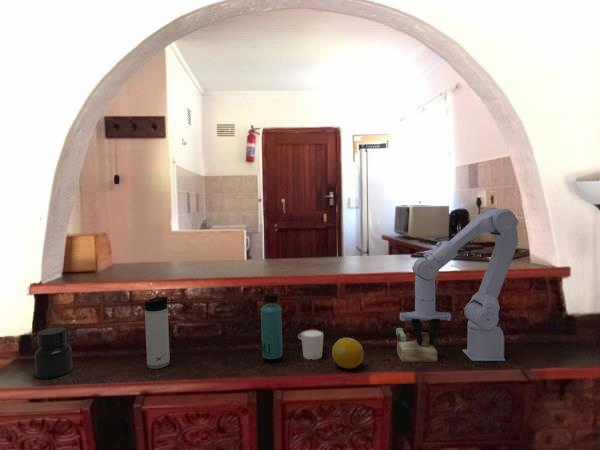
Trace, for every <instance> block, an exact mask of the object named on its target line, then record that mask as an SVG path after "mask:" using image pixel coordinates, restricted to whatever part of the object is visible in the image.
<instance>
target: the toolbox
mask: <svg viewBox="0 0 600 450" xmlns="http://www.w3.org/2000/svg"><path fill="white" fill-rule="evenodd" d="M405 335H406V341H405V342H411V339H410V338H411V337H410V333H409V332H407V333H406V334H405ZM396 338H397V339H396V353H397V355H398V357H399V358H400V360H401V363H437V362H438V350H436V351H407V352H403V350H402V349H401V347H400V345H399V344H398V342H401V339H400V333H397V335H396Z"/></svg>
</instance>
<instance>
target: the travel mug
mask: <svg viewBox="0 0 600 450" xmlns="http://www.w3.org/2000/svg"><path fill="white" fill-rule="evenodd" d="M168 300H169V298H168V296H159V297H154V298H153V297H152V298H149V299H148V300H145V301H144V323H145V326H144V328H145V346H146V349H145V350H146V366H147V368H148V369H152V370H157V369H162V368H165V367H167V366H168V365H170V362H171V360H170V359H171V358H170V357H171V356H170V334H169V310H168V308H169V307H168Z"/></svg>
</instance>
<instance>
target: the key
mask: <svg viewBox="0 0 600 450" xmlns="http://www.w3.org/2000/svg"><path fill="white" fill-rule="evenodd" d="M395 332H396V333H395V334H396V336H397V333H400V341H401V342H406V334H405V332H404V328H403V327H400V328H399V327H397V328H395Z"/></svg>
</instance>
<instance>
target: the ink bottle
mask: <svg viewBox="0 0 600 450" xmlns="http://www.w3.org/2000/svg"><path fill="white" fill-rule="evenodd" d="M67 336H68V335H67V328H66V327H60V326H58V327H55V326H54V327H49V328H46V329H45V328H44V329H42V330H40V331H38V332H37V341H38V343H37V344H38V349H36V350H35V353H34V365H35V366H34V368H35V376H36V378H39V379H51V378H57V377H62V376H64V375H67V374H68V373H69V372H70V371H72V369H73V351H72V346H71V345H70V344H69V343H67V341H68V339H67Z"/></svg>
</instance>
